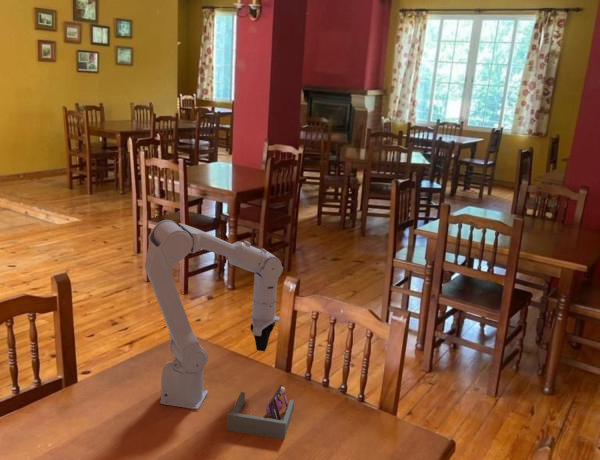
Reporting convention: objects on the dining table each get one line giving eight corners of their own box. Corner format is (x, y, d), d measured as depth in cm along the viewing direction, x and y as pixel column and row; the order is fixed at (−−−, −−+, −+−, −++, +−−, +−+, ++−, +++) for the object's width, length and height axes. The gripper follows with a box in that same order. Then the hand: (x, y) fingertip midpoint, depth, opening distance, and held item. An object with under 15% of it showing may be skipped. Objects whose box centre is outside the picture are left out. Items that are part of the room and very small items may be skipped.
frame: (226, 430, 127) (227, 414, 126) (240, 401, 139) (241, 386, 138) (284, 439, 126) (285, 423, 125) (293, 409, 137) (294, 394, 136)
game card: (272, 403, 127) (285, 384, 136) (251, 405, 129) (265, 386, 137) (280, 430, 128) (292, 409, 137) (259, 432, 130) (272, 411, 138)
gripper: (274, 313, 134) (271, 365, 138) (285, 291, 148) (282, 339, 152) (245, 309, 135) (242, 361, 139) (259, 287, 149) (256, 335, 152)
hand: (261, 349), depth 145 cm, fingers closed
